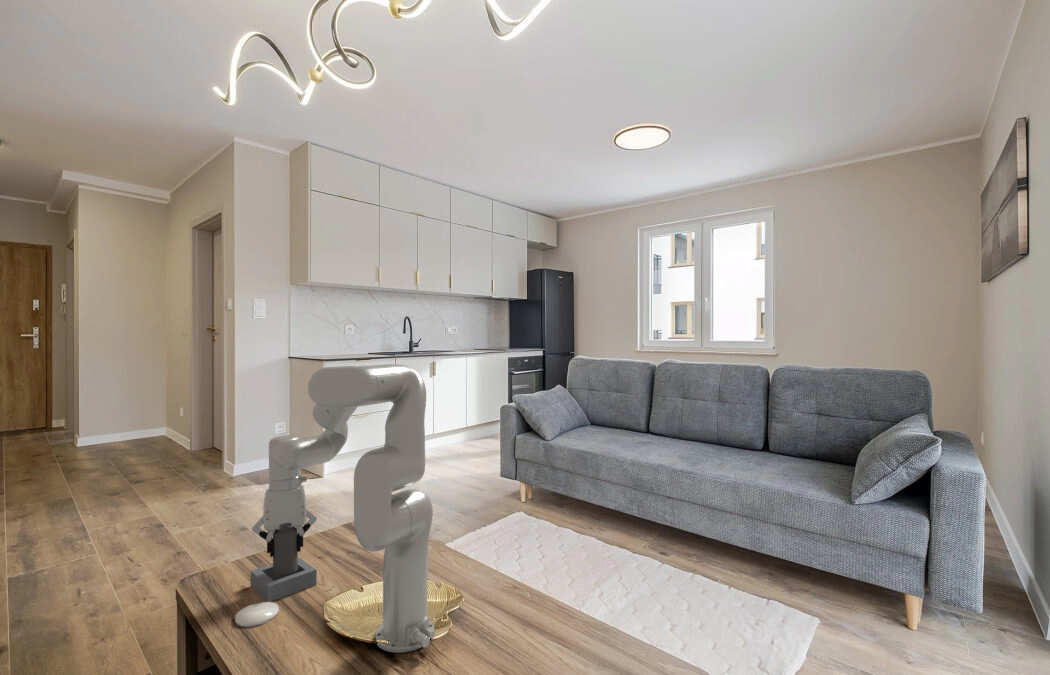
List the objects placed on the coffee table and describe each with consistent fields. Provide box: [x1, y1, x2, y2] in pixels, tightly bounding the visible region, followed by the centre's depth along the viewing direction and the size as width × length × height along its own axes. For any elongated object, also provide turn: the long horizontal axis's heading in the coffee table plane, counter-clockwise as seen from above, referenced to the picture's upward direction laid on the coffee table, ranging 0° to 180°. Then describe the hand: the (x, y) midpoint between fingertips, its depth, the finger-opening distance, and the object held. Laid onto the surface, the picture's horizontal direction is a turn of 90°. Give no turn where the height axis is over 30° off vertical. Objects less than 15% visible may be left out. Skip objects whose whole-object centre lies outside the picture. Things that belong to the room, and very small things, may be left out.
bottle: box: [272, 523, 299, 576], centre depth 129 cm, size 6×6×15 cm
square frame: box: [250, 556, 318, 603], centre depth 130 cm, size 12×12×4 cm
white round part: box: [234, 601, 280, 628], centre depth 115 cm, size 9×9×1 cm
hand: (285, 551), depth 129 cm, fingers closed on bottle, 5 cm apart
